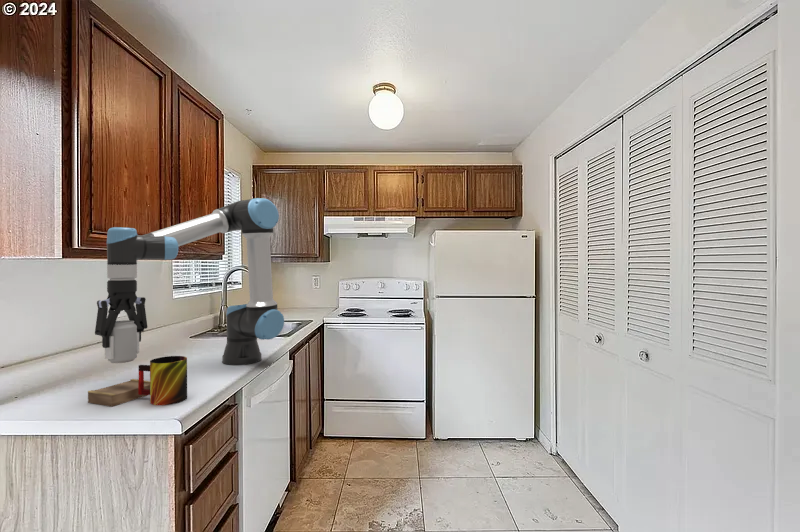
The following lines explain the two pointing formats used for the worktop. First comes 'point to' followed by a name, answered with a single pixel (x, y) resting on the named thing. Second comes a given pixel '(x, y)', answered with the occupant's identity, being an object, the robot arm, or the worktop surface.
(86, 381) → the worktop surface
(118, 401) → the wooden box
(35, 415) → the worktop surface
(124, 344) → the can
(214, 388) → the worktop surface
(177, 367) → the mug
